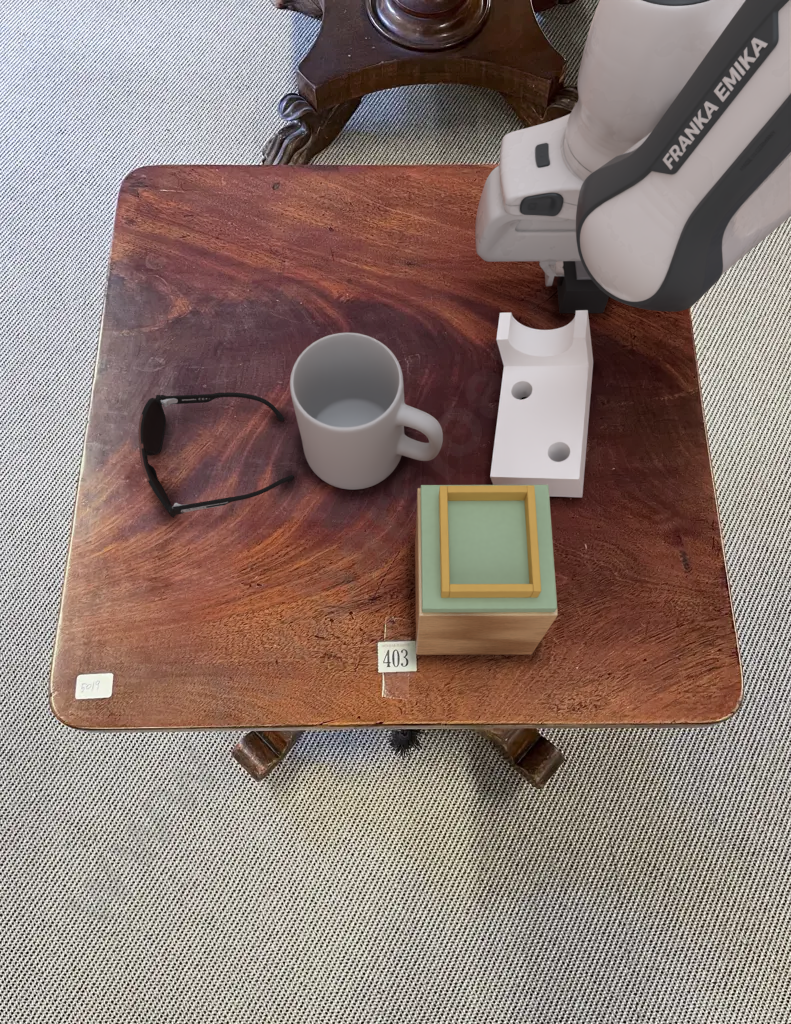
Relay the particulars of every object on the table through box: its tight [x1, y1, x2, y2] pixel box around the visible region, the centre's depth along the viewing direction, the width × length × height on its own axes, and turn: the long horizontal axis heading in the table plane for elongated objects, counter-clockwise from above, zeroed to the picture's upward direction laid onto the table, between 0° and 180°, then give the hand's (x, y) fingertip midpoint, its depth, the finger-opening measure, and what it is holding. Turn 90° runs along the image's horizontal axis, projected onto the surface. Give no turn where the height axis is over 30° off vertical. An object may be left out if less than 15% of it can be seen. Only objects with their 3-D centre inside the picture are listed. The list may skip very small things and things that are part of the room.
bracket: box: [489, 310, 594, 498], centre depth 71 cm, size 13×7×8 cm, turn 171°
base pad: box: [420, 484, 558, 612], centre depth 56 cm, size 9×9×2 cm
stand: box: [414, 487, 559, 656], centre depth 63 cm, size 9×9×12 cm
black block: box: [556, 261, 610, 314], centre depth 77 cm, size 4×5×4 cm
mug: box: [289, 332, 444, 491], centre depth 68 cm, size 12×8×11 cm
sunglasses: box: [138, 391, 295, 519], centre depth 71 cm, size 11×12×5 cm
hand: (582, 279), depth 77 cm, fingers closed on black block, 4 cm apart
